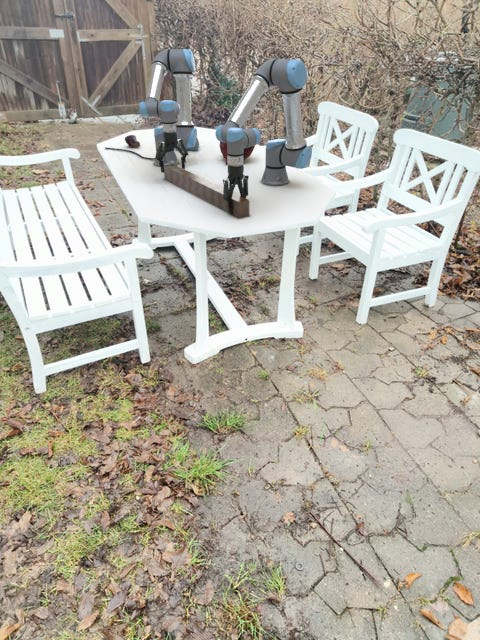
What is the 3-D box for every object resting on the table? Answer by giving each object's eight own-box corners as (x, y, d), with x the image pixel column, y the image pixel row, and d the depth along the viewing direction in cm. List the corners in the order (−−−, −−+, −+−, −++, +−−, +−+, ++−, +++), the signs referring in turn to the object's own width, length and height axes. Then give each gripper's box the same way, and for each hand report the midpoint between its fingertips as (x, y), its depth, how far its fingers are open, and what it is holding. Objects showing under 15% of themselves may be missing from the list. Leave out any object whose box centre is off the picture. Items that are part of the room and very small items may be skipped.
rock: (137, 146, 338) (124, 147, 334) (135, 134, 334) (122, 135, 330) (142, 146, 329) (128, 148, 324) (140, 134, 325) (126, 135, 321)
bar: (164, 178, 268) (163, 165, 263) (173, 177, 271) (171, 163, 266) (239, 218, 216) (239, 202, 211) (249, 215, 218) (249, 199, 214)
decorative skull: (216, 133, 304) (216, 130, 280) (250, 125, 303) (253, 121, 280) (223, 165, 311) (223, 165, 287) (256, 157, 310) (259, 157, 286)
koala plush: (199, 151, 320) (197, 121, 309) (174, 151, 319) (171, 122, 308) (199, 145, 334) (197, 116, 323) (175, 145, 333) (172, 117, 322)
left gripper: (152, 135, 240) (156, 175, 252) (192, 129, 252) (195, 168, 264) (146, 133, 245) (150, 172, 257) (186, 127, 257) (188, 165, 269)
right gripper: (223, 169, 201) (224, 218, 214) (256, 162, 210) (256, 210, 223) (214, 165, 206) (216, 214, 220) (247, 159, 215) (247, 205, 228)
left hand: (173, 170), depth 261 cm, fingers open, 13 cm apart
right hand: (236, 212), depth 221 cm, fingers closed on bar, 6 cm apart
